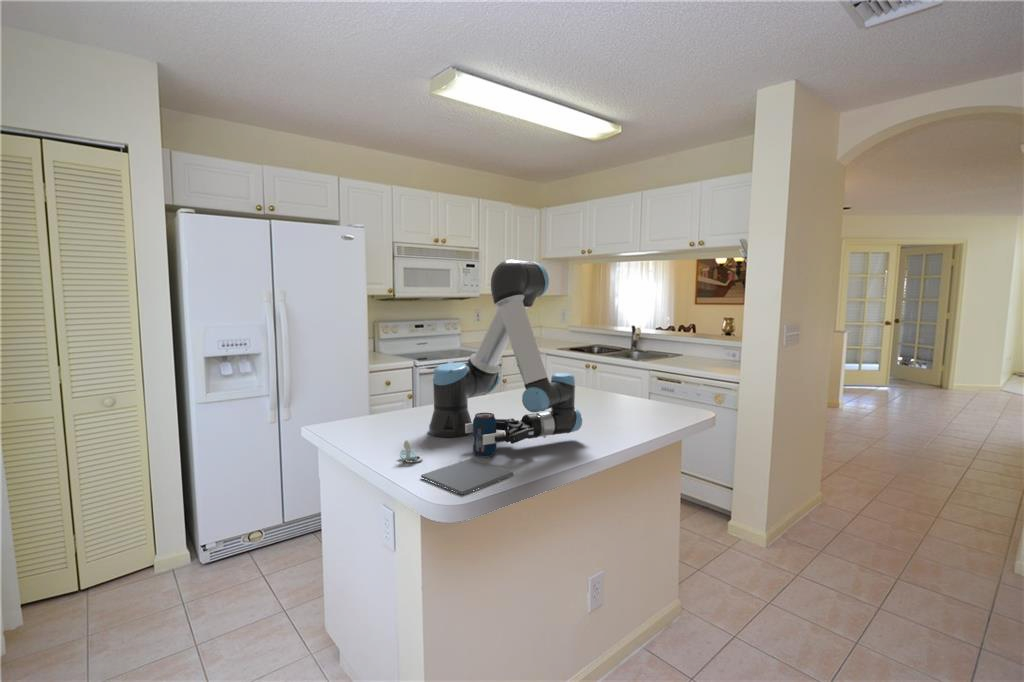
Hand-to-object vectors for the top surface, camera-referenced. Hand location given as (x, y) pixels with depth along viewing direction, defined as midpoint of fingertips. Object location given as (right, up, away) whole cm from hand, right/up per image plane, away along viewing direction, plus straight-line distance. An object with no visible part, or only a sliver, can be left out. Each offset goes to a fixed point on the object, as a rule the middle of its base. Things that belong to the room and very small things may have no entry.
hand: (474, 434), depth 145 cm
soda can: (+3, -7, +2) cm, 8 cm away
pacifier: (-18, -7, -3) cm, 19 cm away
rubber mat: (0, -8, -16) cm, 18 cm away
